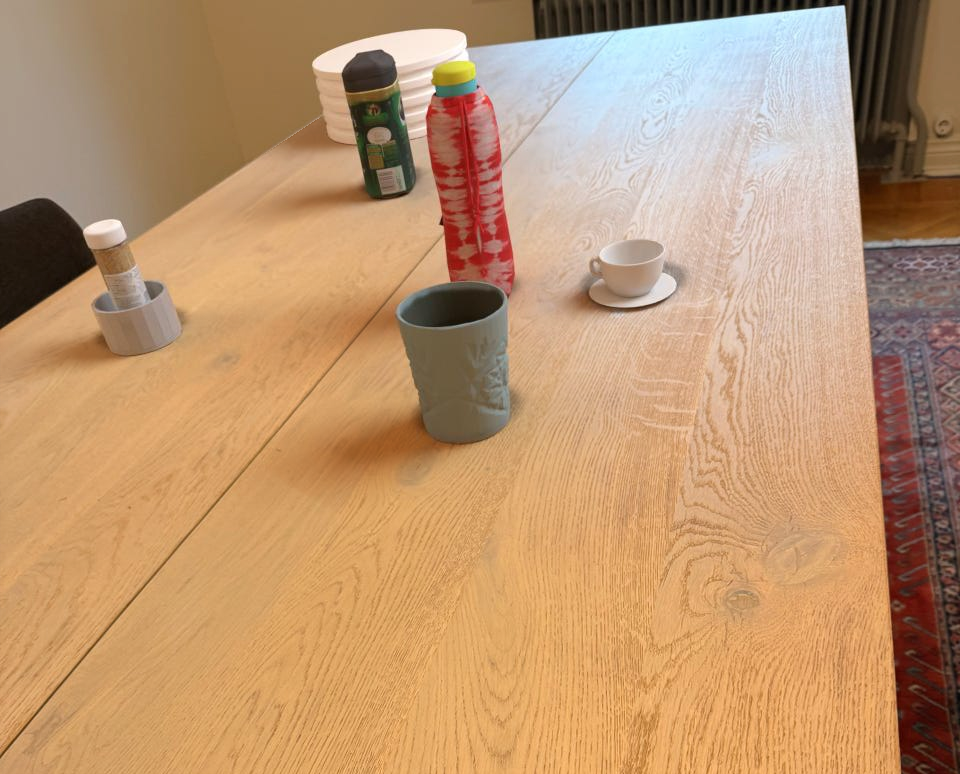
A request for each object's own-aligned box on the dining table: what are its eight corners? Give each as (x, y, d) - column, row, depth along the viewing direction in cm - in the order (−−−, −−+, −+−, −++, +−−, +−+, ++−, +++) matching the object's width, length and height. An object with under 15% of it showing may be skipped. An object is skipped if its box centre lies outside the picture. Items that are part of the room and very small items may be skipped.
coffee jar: (371, 182, 151) (343, 50, 139) (419, 175, 150) (395, 42, 138) (363, 203, 144) (334, 66, 132) (414, 196, 143) (389, 57, 131)
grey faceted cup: (98, 342, 120) (79, 301, 116) (162, 314, 123) (146, 273, 120) (128, 362, 114) (109, 319, 110) (195, 332, 118) (179, 290, 114)
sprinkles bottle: (134, 327, 120) (90, 220, 111) (167, 324, 120) (126, 215, 110) (122, 344, 117) (75, 235, 108) (156, 340, 116) (112, 230, 107)
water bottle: (448, 281, 118) (410, 54, 101) (511, 270, 118) (483, 41, 101) (454, 321, 109) (414, 80, 92) (522, 310, 109) (494, 66, 92)
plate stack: (302, 148, 171) (285, 77, 163) (363, 101, 189) (350, 35, 182) (445, 141, 162) (433, 65, 154) (494, 92, 180) (486, 23, 173)
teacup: (686, 275, 110) (687, 235, 106) (661, 314, 103) (661, 272, 100) (605, 272, 114) (603, 232, 110) (576, 308, 107) (573, 268, 104)
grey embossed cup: (399, 425, 94) (374, 310, 86) (476, 383, 98) (458, 270, 90) (463, 459, 88) (441, 339, 80) (542, 413, 92) (529, 294, 84)
